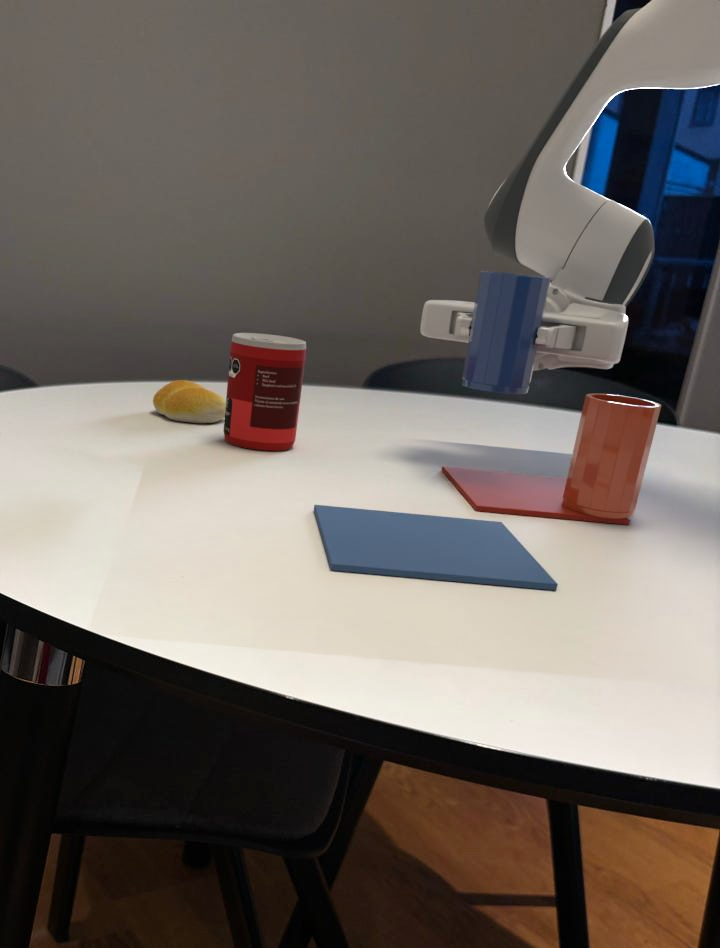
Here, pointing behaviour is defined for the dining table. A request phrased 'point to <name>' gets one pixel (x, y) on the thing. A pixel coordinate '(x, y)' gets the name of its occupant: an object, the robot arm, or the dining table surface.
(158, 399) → the bread roll
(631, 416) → the red cup
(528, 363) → the blue cup
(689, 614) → the dining table surface
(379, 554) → the blue mat
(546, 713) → the dining table surface
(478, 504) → the red mat
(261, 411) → the canned food
